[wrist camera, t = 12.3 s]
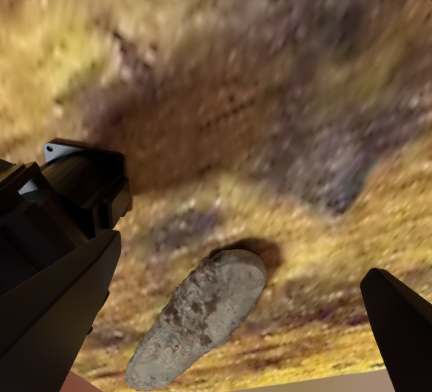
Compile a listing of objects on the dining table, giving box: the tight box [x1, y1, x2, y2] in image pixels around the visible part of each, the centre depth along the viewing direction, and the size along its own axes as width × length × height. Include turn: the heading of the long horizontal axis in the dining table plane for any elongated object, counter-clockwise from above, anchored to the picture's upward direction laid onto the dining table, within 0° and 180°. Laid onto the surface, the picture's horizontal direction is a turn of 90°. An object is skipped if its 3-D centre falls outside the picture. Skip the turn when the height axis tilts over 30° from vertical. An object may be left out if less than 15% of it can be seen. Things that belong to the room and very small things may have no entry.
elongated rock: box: [124, 249, 267, 391], centre depth 33 cm, size 35×5×10 cm
